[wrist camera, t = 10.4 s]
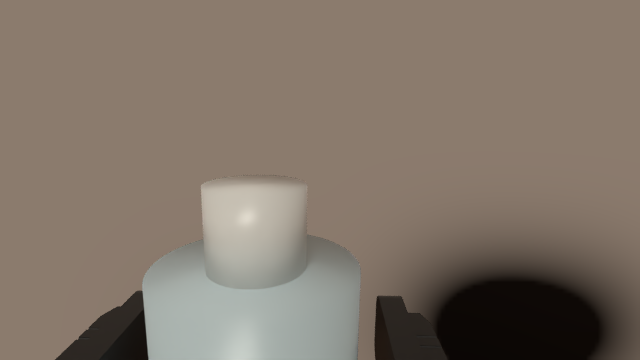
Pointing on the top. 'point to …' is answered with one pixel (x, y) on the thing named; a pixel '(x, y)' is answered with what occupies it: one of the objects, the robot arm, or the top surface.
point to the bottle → (254, 282)
